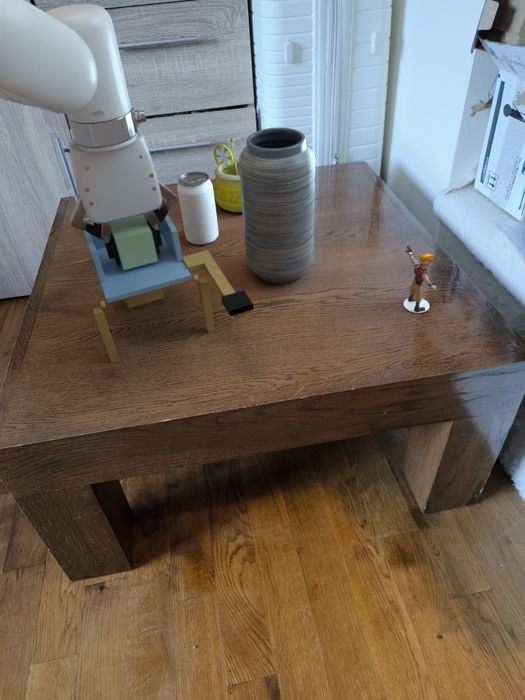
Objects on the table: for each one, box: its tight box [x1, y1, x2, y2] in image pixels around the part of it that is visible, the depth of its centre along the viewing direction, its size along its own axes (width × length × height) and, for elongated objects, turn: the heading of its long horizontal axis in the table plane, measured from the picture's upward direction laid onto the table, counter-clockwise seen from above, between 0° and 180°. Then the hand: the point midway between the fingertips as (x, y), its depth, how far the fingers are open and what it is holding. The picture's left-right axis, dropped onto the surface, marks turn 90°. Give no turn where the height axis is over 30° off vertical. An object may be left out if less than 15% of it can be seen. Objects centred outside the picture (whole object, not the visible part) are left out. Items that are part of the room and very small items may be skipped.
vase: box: [238, 127, 316, 284], centre depth 83 cm, size 12×12×23 cm
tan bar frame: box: [92, 274, 216, 364], centre depth 78 cm, size 16×13×10 cm
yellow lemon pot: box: [213, 136, 243, 213], centre depth 106 cm, size 13×11×12 cm
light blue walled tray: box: [83, 213, 255, 320], centre depth 70 cm, size 17×26×6 cm, turn 23°
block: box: [111, 215, 158, 270], centre depth 73 cm, size 5×5×5 cm
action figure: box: [403, 245, 438, 314], centre depth 79 cm, size 12×3×9 cm, turn 9°
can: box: [176, 171, 219, 246], centre depth 96 cm, size 6×6×12 cm
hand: (136, 254), depth 74 cm, fingers closed on block, 5 cm apart
